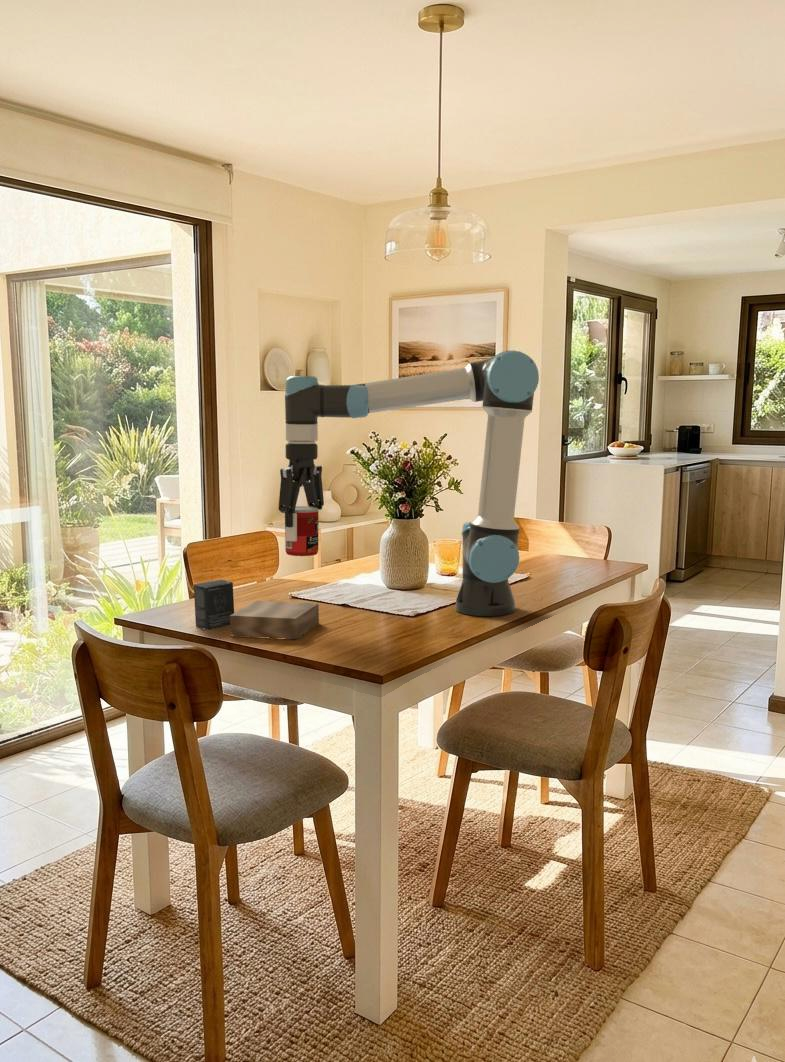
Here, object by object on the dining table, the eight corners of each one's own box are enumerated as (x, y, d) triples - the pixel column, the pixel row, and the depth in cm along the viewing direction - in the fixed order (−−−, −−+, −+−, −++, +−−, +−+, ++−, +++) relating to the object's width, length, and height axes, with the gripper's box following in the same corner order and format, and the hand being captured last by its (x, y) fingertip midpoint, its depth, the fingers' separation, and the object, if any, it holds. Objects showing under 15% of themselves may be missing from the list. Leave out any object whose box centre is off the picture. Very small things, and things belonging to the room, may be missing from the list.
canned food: (313, 557, 214) (312, 510, 213) (280, 555, 216) (280, 509, 214) (322, 552, 222) (322, 506, 220) (291, 550, 223) (291, 505, 222)
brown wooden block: (318, 623, 222) (318, 603, 222) (296, 640, 207) (295, 618, 206) (257, 620, 226) (256, 600, 226) (230, 636, 211) (229, 615, 210)
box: (222, 620, 227) (220, 579, 225) (235, 624, 223) (233, 582, 221) (194, 626, 221) (193, 583, 220) (207, 630, 217) (205, 586, 216)
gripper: (313, 440, 226) (313, 532, 229) (261, 443, 208) (262, 542, 211) (339, 441, 222) (338, 534, 225) (288, 444, 204) (288, 545, 207)
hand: (301, 538), depth 218 cm, fingers closed on canned food, 8 cm apart
